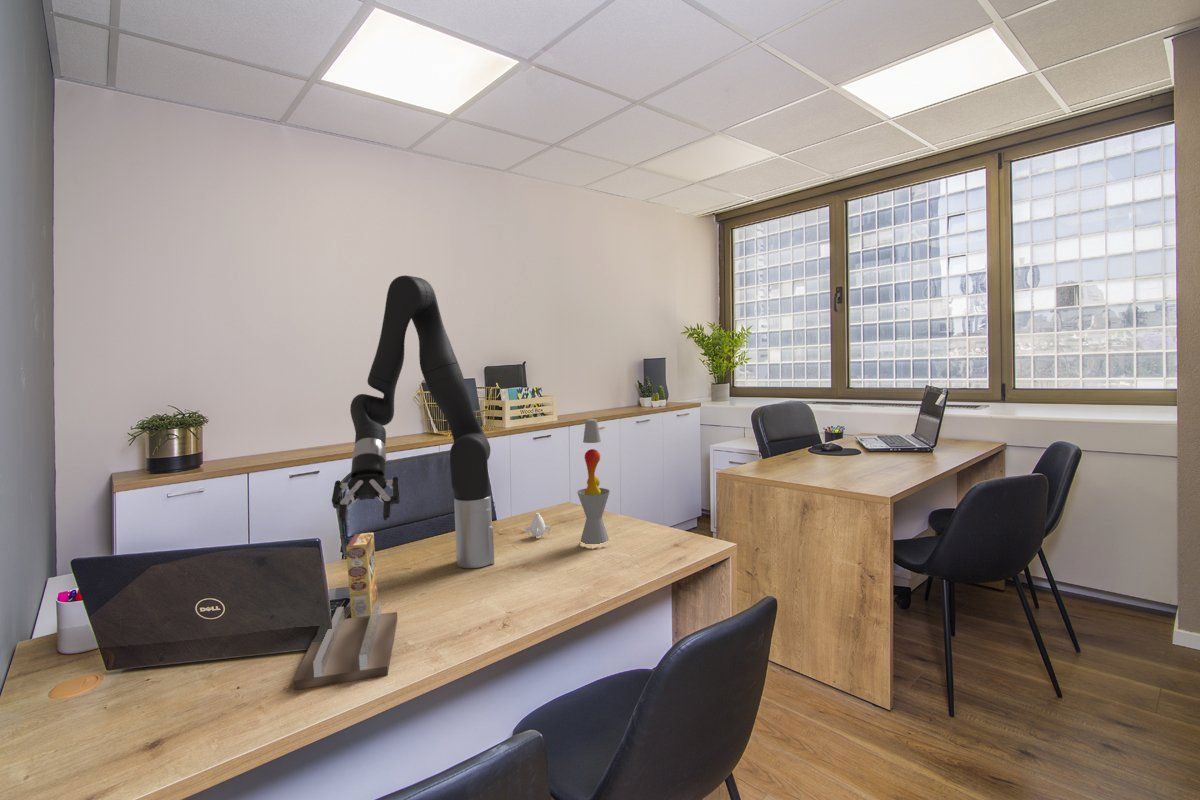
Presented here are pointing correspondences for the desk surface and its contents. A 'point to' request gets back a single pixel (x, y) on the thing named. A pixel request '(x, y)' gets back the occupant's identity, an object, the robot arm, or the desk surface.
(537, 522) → the rocket toy
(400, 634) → the desk surface
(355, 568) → the candy box
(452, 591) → the desk surface
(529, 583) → the desk surface
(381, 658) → the track base
